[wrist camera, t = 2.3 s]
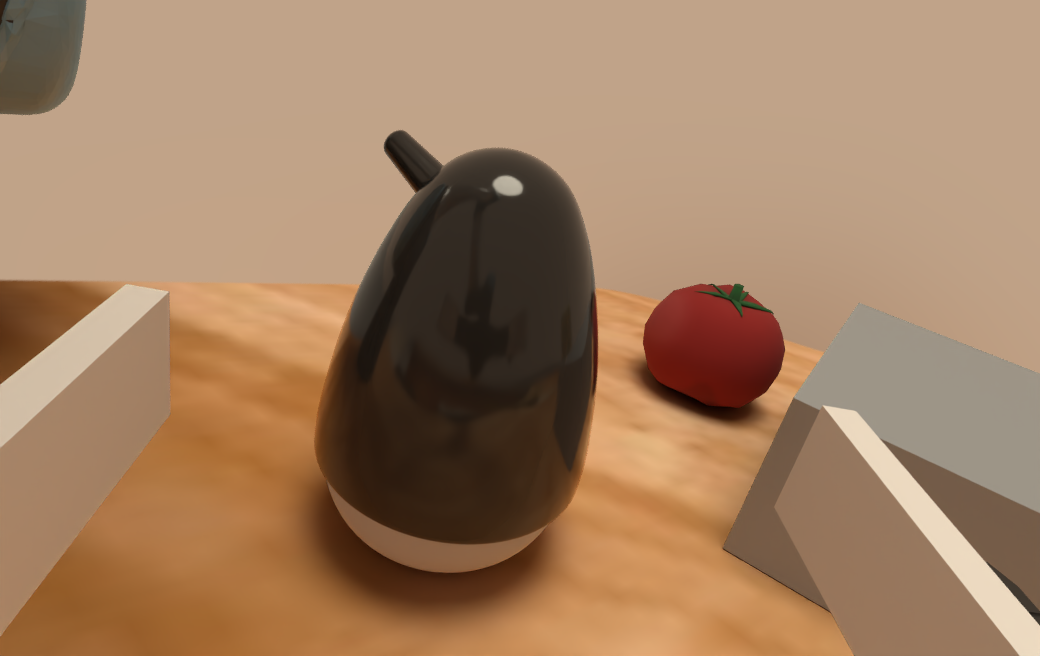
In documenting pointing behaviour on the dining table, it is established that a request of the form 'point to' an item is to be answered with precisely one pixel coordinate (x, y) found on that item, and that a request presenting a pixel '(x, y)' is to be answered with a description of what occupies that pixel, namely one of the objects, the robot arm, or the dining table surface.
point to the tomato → (714, 344)
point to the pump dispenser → (464, 365)
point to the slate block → (916, 443)
